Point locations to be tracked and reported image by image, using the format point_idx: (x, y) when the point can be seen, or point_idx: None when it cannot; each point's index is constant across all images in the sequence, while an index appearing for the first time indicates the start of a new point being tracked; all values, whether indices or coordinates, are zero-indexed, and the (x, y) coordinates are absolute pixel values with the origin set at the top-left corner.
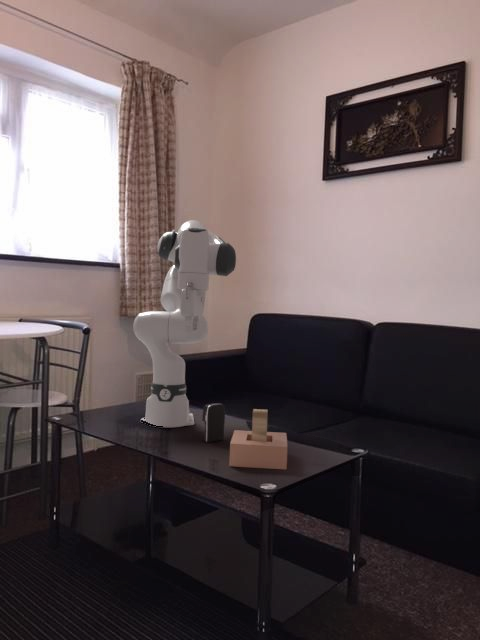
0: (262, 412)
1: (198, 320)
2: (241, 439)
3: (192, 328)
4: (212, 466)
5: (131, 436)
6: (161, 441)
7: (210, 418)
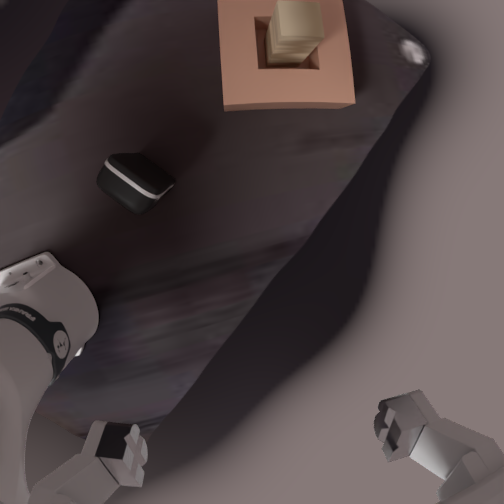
0: (320, 14)
1: (48, 478)
2: (314, 79)
3: (403, 414)
4: (346, 140)
5: (182, 341)
6: (197, 280)
7: (162, 183)
